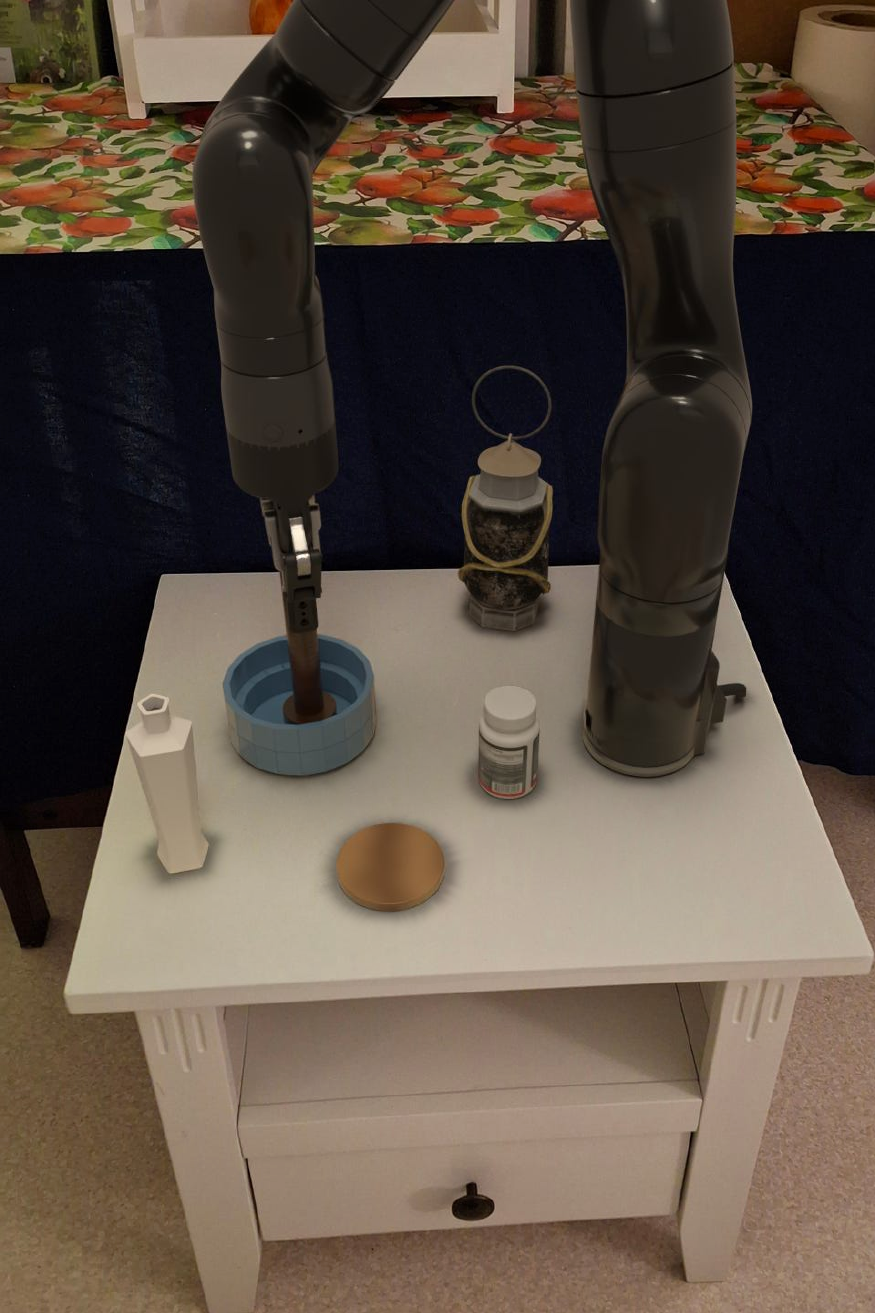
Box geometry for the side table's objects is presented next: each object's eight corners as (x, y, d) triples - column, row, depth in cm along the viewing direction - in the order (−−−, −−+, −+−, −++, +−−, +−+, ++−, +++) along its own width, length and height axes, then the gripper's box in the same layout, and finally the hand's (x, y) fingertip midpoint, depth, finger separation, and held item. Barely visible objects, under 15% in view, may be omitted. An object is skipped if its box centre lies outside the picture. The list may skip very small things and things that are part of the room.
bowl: (361, 673, 109) (358, 624, 105) (388, 765, 99) (386, 715, 96) (223, 694, 106) (216, 645, 103) (238, 791, 97) (231, 740, 94)
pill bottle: (507, 751, 101) (510, 673, 95) (549, 781, 98) (554, 701, 93) (465, 779, 98) (466, 700, 93) (507, 810, 95) (510, 730, 90)
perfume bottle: (140, 868, 91) (104, 717, 82) (171, 828, 94) (140, 678, 85) (193, 885, 90) (164, 734, 80) (223, 844, 93) (198, 694, 83)
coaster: (430, 821, 94) (430, 814, 94) (456, 900, 88) (456, 892, 88) (328, 840, 93) (328, 832, 93) (347, 920, 87) (346, 913, 86)
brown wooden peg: (332, 696, 103) (319, 545, 93) (341, 730, 100) (328, 576, 90) (280, 704, 102) (261, 553, 93) (287, 739, 99) (269, 585, 89)
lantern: (556, 592, 118) (572, 350, 102) (542, 642, 112) (557, 393, 96) (468, 581, 120) (470, 341, 104) (450, 630, 113) (449, 382, 98)
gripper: (352, 457, 79) (365, 665, 90) (317, 366, 90) (333, 562, 100) (236, 472, 78) (264, 681, 89) (215, 378, 88) (242, 575, 99)
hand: (300, 617), depth 94 cm, fingers closed on brown wooden peg, 2 cm apart
